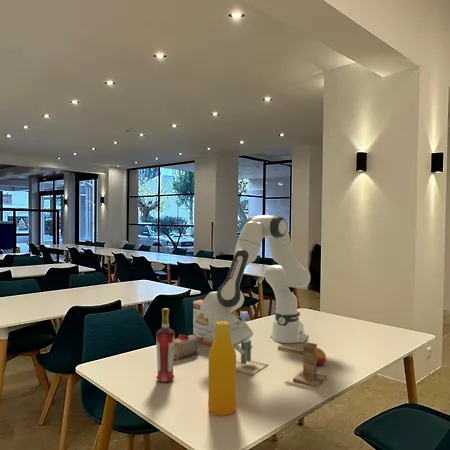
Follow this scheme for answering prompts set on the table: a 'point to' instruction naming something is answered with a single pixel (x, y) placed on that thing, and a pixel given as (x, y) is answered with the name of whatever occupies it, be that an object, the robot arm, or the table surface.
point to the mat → (249, 367)
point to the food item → (185, 346)
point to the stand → (307, 364)
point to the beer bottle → (222, 372)
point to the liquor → (165, 349)
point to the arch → (246, 351)
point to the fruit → (320, 357)
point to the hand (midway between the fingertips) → (247, 351)
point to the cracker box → (203, 324)
